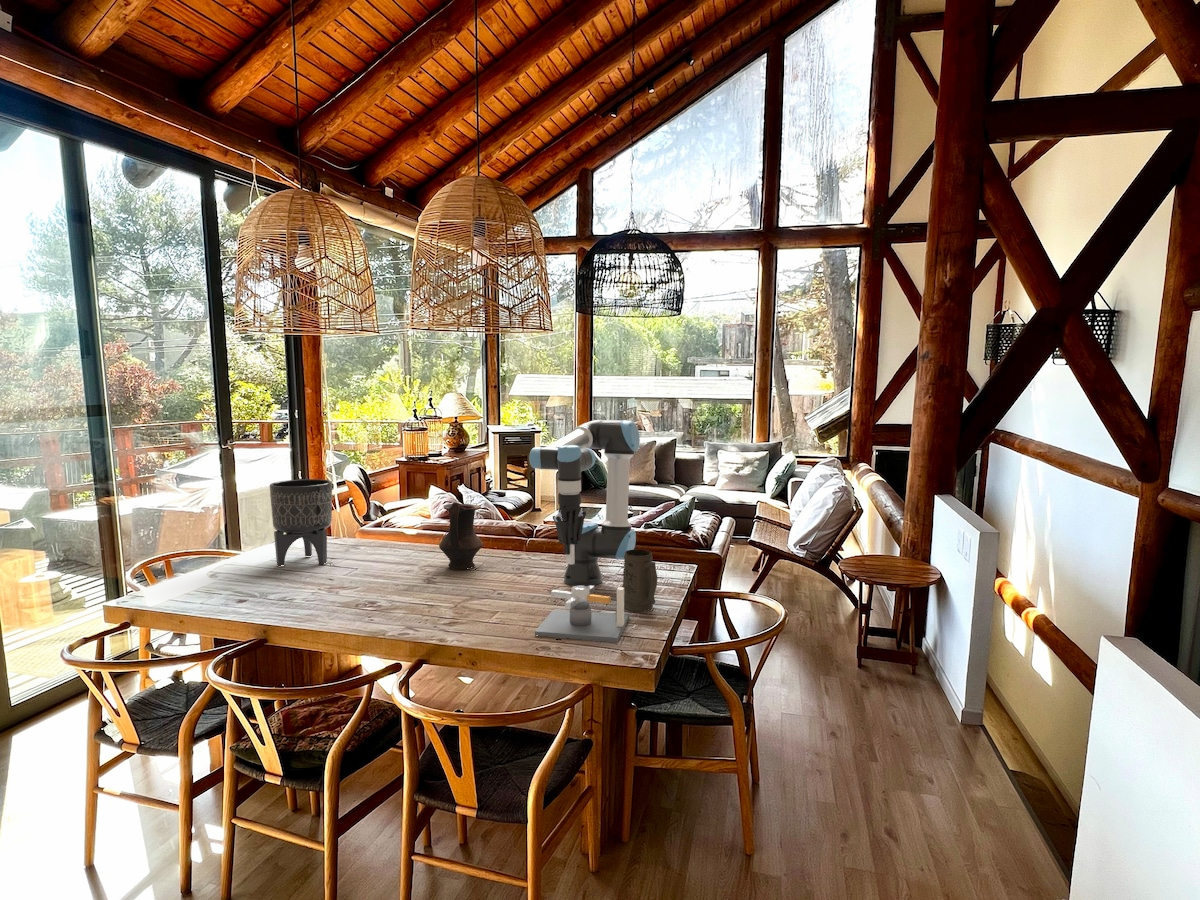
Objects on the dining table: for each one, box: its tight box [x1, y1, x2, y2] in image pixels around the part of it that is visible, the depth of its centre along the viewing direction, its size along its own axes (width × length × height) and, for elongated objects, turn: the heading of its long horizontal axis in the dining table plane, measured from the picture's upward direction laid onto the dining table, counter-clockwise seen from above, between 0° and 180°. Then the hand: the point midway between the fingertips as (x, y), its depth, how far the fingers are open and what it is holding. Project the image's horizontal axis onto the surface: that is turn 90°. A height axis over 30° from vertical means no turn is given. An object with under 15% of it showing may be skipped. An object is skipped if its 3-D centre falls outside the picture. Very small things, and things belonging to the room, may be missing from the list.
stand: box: [534, 586, 630, 643], centre depth 219 cm, size 22×26×14 cm
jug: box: [438, 501, 484, 570], centre depth 290 cm, size 21×18×30 cm
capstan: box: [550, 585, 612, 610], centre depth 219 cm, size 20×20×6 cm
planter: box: [269, 478, 333, 567], centre depth 298 cm, size 25×25×36 cm
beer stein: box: [622, 548, 658, 612], centre depth 238 cm, size 15×11×20 cm
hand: (570, 563), depth 224 cm, fingers closed
